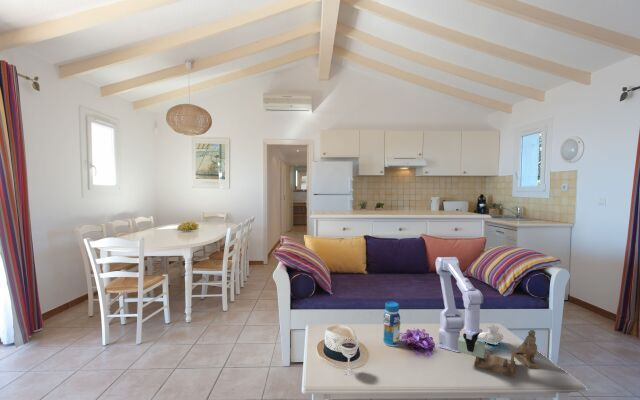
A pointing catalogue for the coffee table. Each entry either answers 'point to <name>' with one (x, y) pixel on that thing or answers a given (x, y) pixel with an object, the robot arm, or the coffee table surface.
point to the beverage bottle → (391, 324)
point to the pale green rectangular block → (478, 348)
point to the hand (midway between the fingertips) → (471, 348)
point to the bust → (491, 334)
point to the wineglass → (348, 353)
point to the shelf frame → (497, 364)
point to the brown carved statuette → (527, 351)
